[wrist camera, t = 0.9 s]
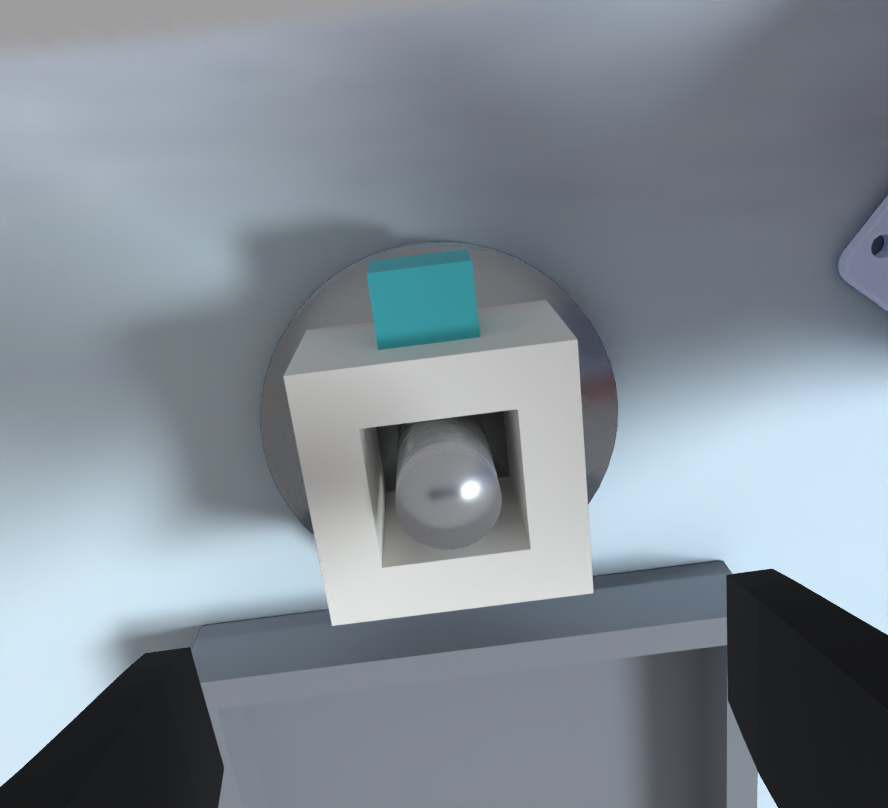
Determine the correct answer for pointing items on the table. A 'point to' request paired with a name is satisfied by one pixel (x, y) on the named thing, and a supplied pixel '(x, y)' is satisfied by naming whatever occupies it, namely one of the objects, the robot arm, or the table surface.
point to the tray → (486, 703)
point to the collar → (428, 398)
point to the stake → (449, 439)
